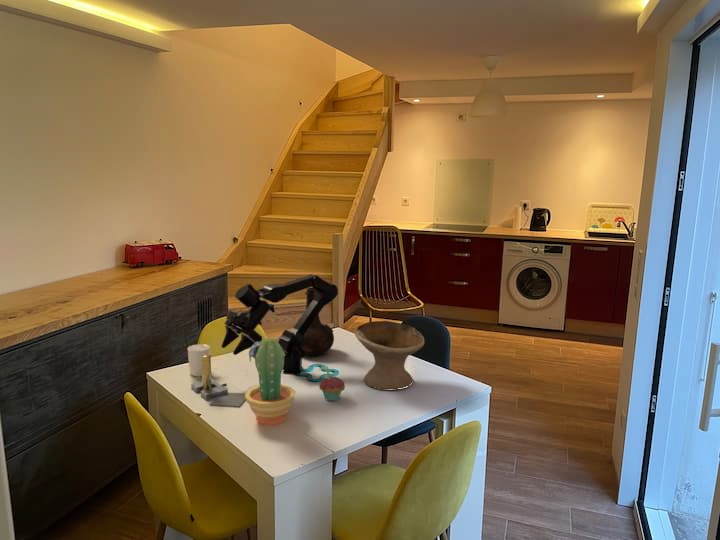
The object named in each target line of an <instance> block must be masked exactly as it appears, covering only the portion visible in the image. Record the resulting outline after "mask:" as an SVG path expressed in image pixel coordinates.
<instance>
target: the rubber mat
mask: <svg viewBox="0 0 720 540" xmlns="http://www.w3.org/2000/svg"><path fill="white" fill-rule="evenodd" d="M245 394H246V393H241V392H240V393H239V392H228V394H224V395H220V396H217V397H216V398H213V399H212V401H211V402H209V406H215V407H216V406H218V407H229V408H240V407H242V405H243V404H244V403H245V402H246V399H245Z"/></svg>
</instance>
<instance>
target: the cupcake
mask: <svg viewBox="0 0 720 540" xmlns="http://www.w3.org/2000/svg"><path fill="white" fill-rule="evenodd" d="M326 376H327V377H325V378H323V379H321V381H320V382H319V387H318V388H319V390H321V391H322V394H323V397H324V399H325V400H326V399H327V400H326V401H328V400H336V401H338V400H339V399H340V395H341V393H342V391H344V390H345V388H346V384H345V382H344V380H343V379H341V378H340V377H337V376H330V369H329V366H328V365H327V364H326ZM337 399H338V400H337Z"/></svg>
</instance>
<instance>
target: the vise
mask: <svg viewBox="0 0 720 540" xmlns="http://www.w3.org/2000/svg"><path fill="white" fill-rule="evenodd" d="M227 386H228V384H227V382H225V383H221V384H220V383H219V382H217V381H216V380H215V379H213V378H211V389H206V390H202V380H201V381H197V382H194V383H191V385H190V387H191V390H192V389H193V392H195V393H200V397H201V398H202V399H204V400H205V401H209V400H214V399H215V398H216V397H217V396H220V395H224V394H228V393H229V389H228V388H226V387H227Z"/></svg>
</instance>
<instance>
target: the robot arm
mask: <svg viewBox="0 0 720 540" xmlns="http://www.w3.org/2000/svg"><path fill="white" fill-rule="evenodd" d="M319 276H320V275H319ZM319 276H318V275H316V274H312V273H310V274H307V275H306V276H305V275H304V276H303V277H299V278H296V279H294V280H291V281H287V282H285V283H271V284H265V285H264V286H263V287H261V288H260V289H255V288H254V286H253V285H252V284H250V283H246V284H245V285H243V286H242V287H240V288H238V289H237V291H236V292H235V295H234V298H235V299H237V300H238V301H239V302H240V303H241V304H243V306H245V308H247V309H248V308H249V310H248V311H239V312H237V311H233V310H230V309H229V310H228V313H227V316H226V321H225V322H224V323H223V324H224V328H225V331H226V332H225V335H224V338H223V341H222V344H221V346H220V347H221V348H223V349H225V348H226V347H228V346H229V345H231V343H233V342H234V341H235V340H236V339H238V338H239V337H241V338H240V341H239V342H238V344H237V346H236V347H235V349H234V350H233V352H232V354H233V355H234V356H236V355H238V354H240V353H242V352H244V351H245V350H247V349H249V348H250V349H251V347H252V346H253V345H254V343H256V342H260V341H262V339H263V336H262V335H261V334H259V333H258V332H257V331H256V330H255V329H256V328H257V327H258V326H261V325H262V324H263V322H262V320H263V319H264V318H265V317H266V315H267V314H268V312H271V313H275V304H276V303H279V302H281V301H283V300H284V299H285V298H286V297H287V296H289V295H291V294H294V293H297V292H299V291H304V290H307V288H314V289H315V290H316V291H315V294H314V299H313V301H312V302H311V304H310V305H309V306H308V308H307V309H306V308H305V310H304V312H302V313H303V314H302V315H301V317H299V319H298V320H297V321H296V324H295V325H294V326H293V328H291V329H289V330H288V329H285V330H284V331H283V332H282V334H281V335H280V336H278V340H277V342H278V343H279V344H280V346H281V348H282V349H283V351H284V367H283V370H282V373H283V374H294V375H295V374H296V375H298V374H297V373H300V374H301V372H302V371H303V369H304V367H303V358H304V357H305V356H306V355H305V351H304V350H303V349H302V348H301V345H302V340H303V335H304V334H305V332H306V331H307V330H308V328H309V327H310V325H311V324H312V323H313V321H314V320H315V318H316V317H317V315H318V314H319V315H320V312H321V311H322V310H323V308H324V307H325V306H327V305H328V304H330V303H331V302H333V301H334V300H335V299H336V298H337V297H338V294H339V288H338V287H337V285H336V284H333V283H330V282H328V281H326V280H325V279H322V277H319ZM269 302H270V303H269ZM272 303H273V304H272ZM301 370H302V371H301Z"/></svg>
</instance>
